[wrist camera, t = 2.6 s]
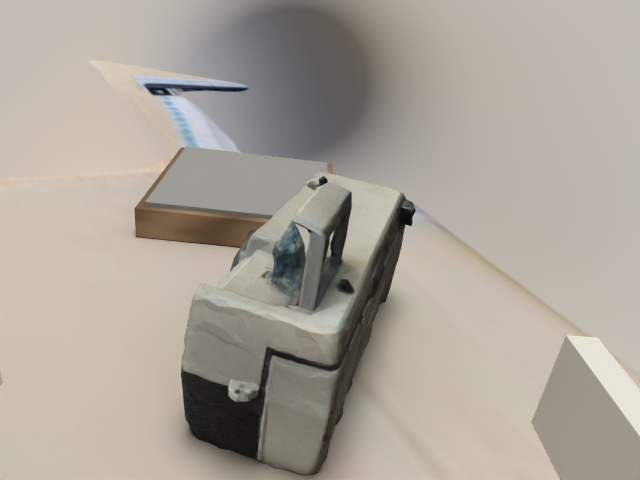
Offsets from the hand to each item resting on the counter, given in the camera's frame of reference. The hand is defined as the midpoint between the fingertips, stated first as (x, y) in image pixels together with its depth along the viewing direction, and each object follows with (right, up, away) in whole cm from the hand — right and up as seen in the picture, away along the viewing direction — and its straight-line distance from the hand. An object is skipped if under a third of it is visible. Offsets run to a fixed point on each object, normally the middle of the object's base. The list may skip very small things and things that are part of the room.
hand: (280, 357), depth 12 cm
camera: (0, -3, +14) cm, 14 cm away
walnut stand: (-5, +5, +28) cm, 29 cm away
